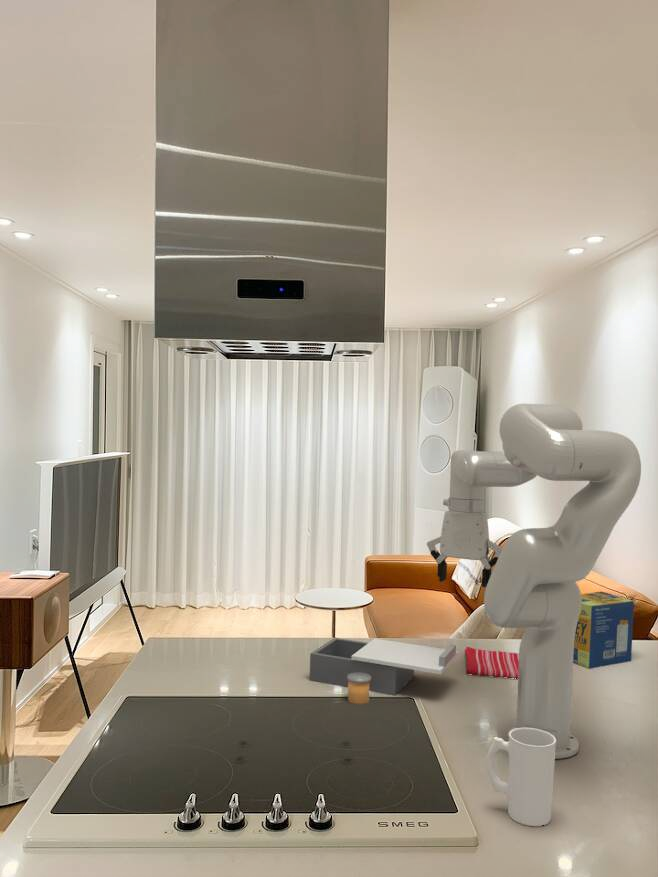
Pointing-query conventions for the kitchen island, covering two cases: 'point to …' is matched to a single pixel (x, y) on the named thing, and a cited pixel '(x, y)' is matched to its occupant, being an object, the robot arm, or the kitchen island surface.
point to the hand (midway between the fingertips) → (463, 583)
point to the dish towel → (492, 663)
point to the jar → (358, 687)
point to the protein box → (603, 630)
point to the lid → (407, 655)
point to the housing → (354, 667)
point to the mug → (526, 774)
